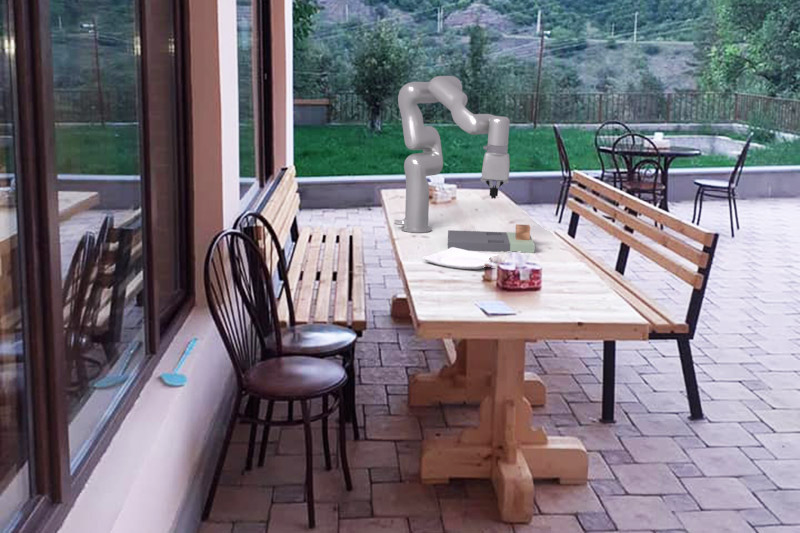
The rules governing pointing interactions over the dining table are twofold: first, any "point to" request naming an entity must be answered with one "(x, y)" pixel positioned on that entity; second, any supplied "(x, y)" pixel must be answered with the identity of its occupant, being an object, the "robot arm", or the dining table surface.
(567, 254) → the dining table surface
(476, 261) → the plate
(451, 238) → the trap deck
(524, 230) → the terracotta block
